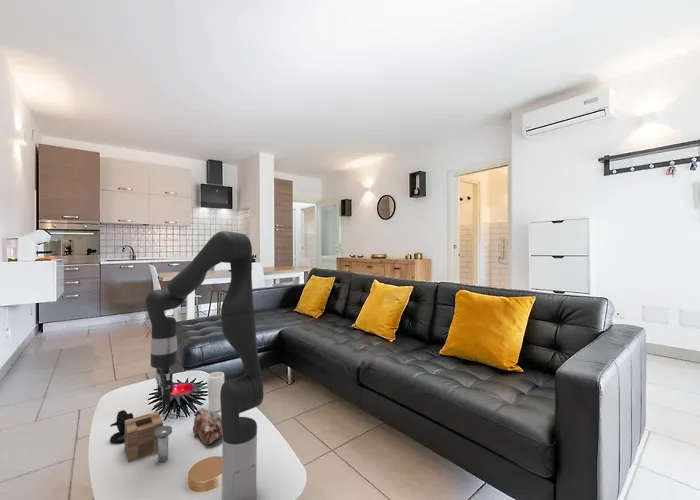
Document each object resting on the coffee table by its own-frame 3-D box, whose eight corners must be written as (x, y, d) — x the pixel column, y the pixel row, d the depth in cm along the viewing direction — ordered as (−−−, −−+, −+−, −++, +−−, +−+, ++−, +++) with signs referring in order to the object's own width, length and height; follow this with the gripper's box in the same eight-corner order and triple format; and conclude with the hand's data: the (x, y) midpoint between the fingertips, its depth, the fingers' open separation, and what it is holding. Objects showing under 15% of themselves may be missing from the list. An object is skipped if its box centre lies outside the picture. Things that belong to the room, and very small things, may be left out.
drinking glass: (203, 411, 138) (203, 376, 138) (214, 404, 145) (214, 370, 145) (216, 414, 136) (217, 378, 136) (227, 406, 143) (227, 372, 143)
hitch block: (162, 450, 112) (163, 423, 112) (127, 462, 106) (127, 433, 106) (157, 437, 120) (157, 411, 120) (124, 447, 114) (124, 420, 113)
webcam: (137, 438, 119) (138, 411, 119) (113, 447, 114) (113, 418, 113) (131, 430, 124) (131, 403, 124) (107, 438, 119) (107, 411, 119)
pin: (173, 461, 107) (173, 430, 106) (155, 468, 103) (155, 436, 103) (169, 454, 110) (170, 424, 110) (152, 460, 107) (153, 429, 107)
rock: (201, 398, 130) (235, 396, 128) (206, 425, 131) (240, 423, 128) (174, 422, 115) (212, 419, 112) (180, 451, 116) (218, 449, 113)
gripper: (181, 353, 103) (181, 404, 104) (172, 342, 115) (172, 389, 115) (154, 358, 99) (154, 411, 99) (147, 346, 110) (147, 394, 110)
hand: (163, 399), depth 107 cm, fingers open, 8 cm apart
